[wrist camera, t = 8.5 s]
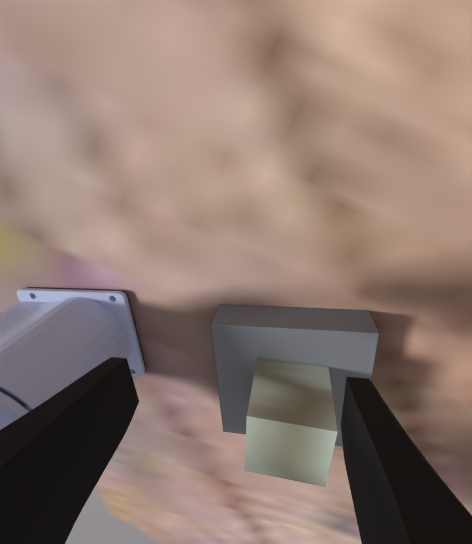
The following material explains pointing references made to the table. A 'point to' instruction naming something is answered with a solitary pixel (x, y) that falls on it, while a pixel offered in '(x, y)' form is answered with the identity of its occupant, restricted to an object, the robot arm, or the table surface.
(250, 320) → the grey base block
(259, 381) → the green cube
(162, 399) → the table surface
